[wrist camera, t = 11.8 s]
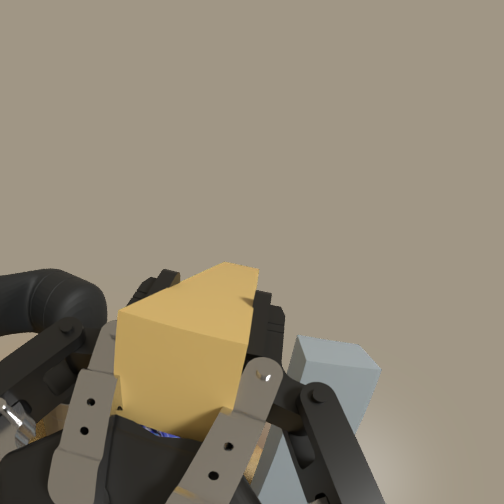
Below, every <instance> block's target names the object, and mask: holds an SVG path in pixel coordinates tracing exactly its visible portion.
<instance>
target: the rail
mask: <svg viewBox="0 0 504 504" xmlns="http://www.w3.org/2000/svg"><path fill="white" fill-rule="evenodd" d="M258 274H259V269H256V268H251V267H247V266H242V265H237V264H233V263H228V262H223V263H221V264H218V265H216V266H214V267H212V268H210V269H207V270H205V271H203V272H201V273H199V274H196V275H195V276H192V277H190V278H188V279H186V280H183V281H181V282H180V283H178V284H176V285H174V286H172V287H170V288H166V289H164V290H161V291H159V292H157V293H155V294H153V295H151V296H148V297H146V298H144V299H142V300H140V301H137V302H135V303H133V304H131V305H129V306H127V307H124V308H122V309H120V310H118V317H117V328H116V341H115V357H114V374H115V375H120V383H121V394H122V404H123V411H118V410H117V411H116V414H117V415H119V416H122V417H124V418H127V419H130V420H132V421H134V422H136V423H138V424H141V425H144V426H146V427H149V428H152V429H155V430H158V431H161V432H165V433H168V434H171V435H175V436H178V437H181V438H188V439H192V440H196V441H200V442H203V441H204V440H205V438H206V436H207V434H208V432H209V431H210V429H211V427H212V425H213V423H214V422H215V420H216V418H217V416H218V414H219V412H220V411H221V409H222V408H223V406H224V407H227V408H229V409H232V410H233V408H234V403H235V399H236V395H237V391H238V386H239V382H240V378H241V374H242V369H243V365H244V361H245V356H246V352H247V347H248V342H249V335H250V329H251V322H252V315H253V308H252V306H253V300H254V295H255V291H256V288H257V280H258Z"/></svg>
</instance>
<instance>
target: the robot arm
mask: <svg viewBox="0 0 504 504" xmlns="http://www.w3.org/2000/svg"><path fill="white" fill-rule="evenodd" d="M178 283H180V273H179V272H175V271H171V270H167V269H163V270H162V271H161V273H160V275H159V276H158V278H153V277H150V278H148V279H147V280H146V281H144V282H142V284H141V285H140V287H139V288H138V289H137V292H135V294H134V295H133V298H131V300H130V301H129V303H128V304H127V306H129V305H131V304H133V303H135V302H137V301H140V300H142V299H144V298H146V297H148V296H151V295H153V294H155V293H157V292H159V291H161V290H164V289H166V288H170V287H172V286H174V285H176V284H178ZM271 296H272V294H271V293H268V292H263V291H259V290H256V291H255V295H254V300H253V306H252V308H253V315H252V322H251V329H250V335H249V342H248V347H247V352H246V356H245V361H244V365H243V369H242V374H241V378H240V382H239V386H238V391H237V395H236V399H235V403H234V408H233V410H232V409H229V408H227V407H224V406H223V408H222V409H221V411H220V412H219V414H218V416H217V418H216V420H215V422H214V423H213V425H212V427H211V429H210V431H209V432H208V434H207V436H206V438H205V440H204V441H203V442H200V441H196V440H192V439H188V438H172V437H160V436H157V435H155V434H153V433H151V432H150V431H148V430H147V429H145V428H143V427H142V426H140V425H139V424H137V423H136V422H134V421H132V420H130V419H127V418H124V417H122V416H119V415H117V414H116V411H117V410H118V411H123V404H122V394H121V383H120V375H115V374H114V357H115V341H116V328H117V320H113V321H110V322H108V323H107V306H106V300H105V297H104V294H103V292H102V291H101V290H100V289H99V288H98V287H97V286H96V285H94V284H92V283H90V282H88V281H86V280H83V279H81V278H79V277H76V276H74V275H72V274H69V273H67V272H64V271H62V270H59V269H41V270H34V271H28V272H23V273H16V274H10V275H2V276H0V336H4V335H9V334H16V333H26V332H34V333H38V335H36V336H35V337H34V338H32V339H31V340H29V341H28V342H27V343H25V344H24V345H22V346H21V347H20V348H18V349H17V350H15V351H14V352H13V353H11V354H10V355H8V356H7V357H6V358H4V359H3V360H2V361H1V362H0V504H261V502H260V500H259V499H258V497H257V496H256V494H255V493H254V491H253V490H252V488H251V486H250V485H249V483H248V481H247V480H246V478H245V477H244V475H243V473H244V471H245V469H246V467H247V465H248V463H249V460H250V458H251V456H252V454H253V451H254V449H255V447H256V444H257V442H258V440H259V437H260V435H261V433H262V430H263V428H264V425H265V422H268V423H271V424H273V425H275V426H277V427H279V428H281V429H282V432H283V435H284V438H285V441H286V444H287V447H288V449H289V452H290V455H291V458H292V461H293V464H294V467H295V470H296V473H297V475H298V478H299V481H300V484H301V487H302V490H303V492H304V495H305V498H306V501H307V504H385V502H384V499H383V497H382V495H381V493H380V490H379V488H378V486H377V484H376V481H375V479H374V477H373V475H372V472H371V470H370V468H369V466H368V463H367V461H366V459H365V457H364V455H363V452H362V450H361V448H360V446H359V444H358V442H357V439H356V437H355V435H354V433H353V430H352V428H351V426H350V424H349V422H348V420H347V417H346V415H345V413H344V411H343V409H342V407H341V404H340V402H339V400H338V398H337V396H336V394H335V392H334V390H333V389H332V388H331V387H330V386H328V385H327V384H325V383H322V382H311V383H308V384H306V385H304V384H302V383H300V382H298V381H296V380H294V379H292V378H290V377H289V376H288V375H287V374H286V373H285V371H284V370H283V367H282V363H281V360H282V349H283V337H284V335H283V334H284V323H285V315H284V313H283V310H282V308H281V307H279V306H273V305H270V303H271ZM127 306H126V307H127ZM42 418H43V421H44V426H45V431H46V437H44V438H41V439H39V440H37V441H34V442H32V443H30V444H28V442H29V440H30V439H34V438H35V436H36V432H35V430H36V423H38V422H39V421H40V420H41V419H42Z"/></svg>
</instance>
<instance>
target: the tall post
mask: <svg viewBox="0 0 504 504" xmlns="http://www.w3.org/2000/svg"><path fill="white" fill-rule="evenodd" d="M381 370H382V369H381V368H380V367H379V366H378V365H377V364H376V363H375V362H374V361H373V360H372V358H371V357H370V356H369V355H368V354H367V353H366V352H365V351H364V350H363V349H362V348H361V347H360V345H358V344H351V343H345V342H338V341H331V340H325V339H319V338H313V337H306V336H301V335H297V338H296V342H295V345H294V349H293V353H292V357H291V360H290V364H289V368H288V371H287V375H288V376H289V377H290V378H292V379H294V380H296V381H298V382H300V383H302V384H304V385H306V384H308V383H311V382H322V383H325V384H327V385H328V386H330V387H331V388H332V389H333V390H334V392H335V394H336V396H337V398H338V400H339V402H340V404H341V407H342V409H343V411H344V413H345V415H346V417H347V420H348V422H349V424H350V426H351V428H352V430H353V433H354V435H355V433H356V431H357V429H358V427H359V425H360V422H361V420H362V418H363V416H364V414H365V411H366V409H367V406H368V404H369V402H370V399H371V397H372V394H373V392H374V389H375V387H376V384H377V381H378V379H379V376H380V373H381ZM250 486H251V488H252V490H253V491H254V493H255V494H256V496H257V497H258V499H259V500H260V502H261V504H307V501H306V498H305V495H304V492H303V490H302V487H301V484H300V481H299V478H298V475H297V473H296V470H295V467H294V464H293V461H292V458H291V455H290V452H289V449H288V447H287V444H286V441H285V438H284V435H283V432H282V429H281V428H279V427H277V426H275V425H273V424H271V428H270V430H269V434H268V436H267V439H266V442H265V445H264V448H263V451H262V454H261V457H260V460H259V463H258V466H257V468H256V471H255V474H254V477H253V479H252V482H251V485H250Z"/></svg>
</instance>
